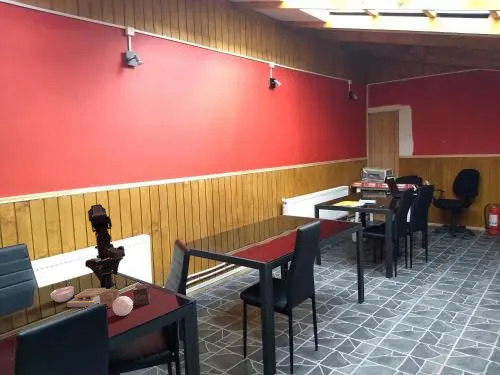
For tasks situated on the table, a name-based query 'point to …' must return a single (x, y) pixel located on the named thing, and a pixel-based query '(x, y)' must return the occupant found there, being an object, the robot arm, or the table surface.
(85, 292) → the pallet
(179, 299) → the table surface
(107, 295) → the crate
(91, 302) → the dock
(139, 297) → the box
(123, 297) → the pale pink ovoid
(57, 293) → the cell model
